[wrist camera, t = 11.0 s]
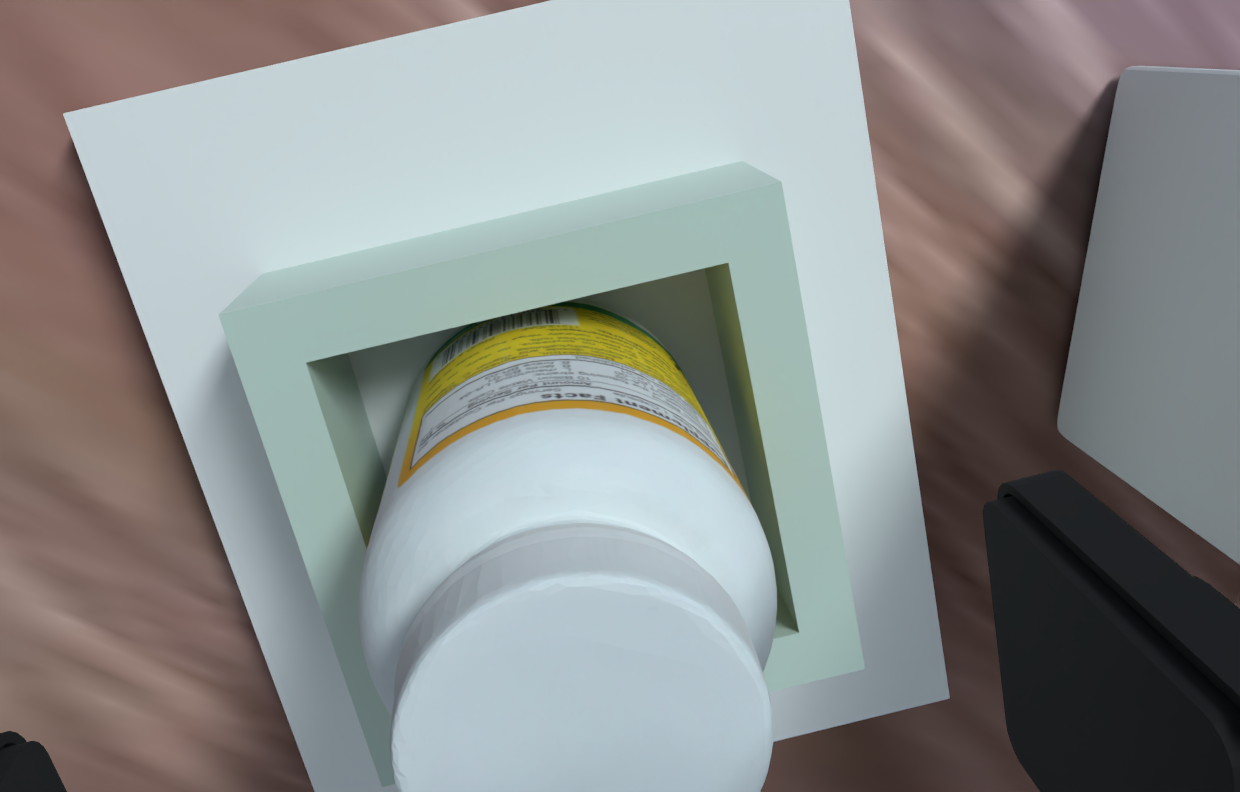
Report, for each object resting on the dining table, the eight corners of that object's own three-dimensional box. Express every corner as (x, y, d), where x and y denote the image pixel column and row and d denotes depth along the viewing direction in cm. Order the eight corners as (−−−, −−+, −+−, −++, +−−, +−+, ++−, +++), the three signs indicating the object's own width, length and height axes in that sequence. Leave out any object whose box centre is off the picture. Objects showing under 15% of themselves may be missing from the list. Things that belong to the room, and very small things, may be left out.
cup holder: (85, 110, 19) (-21, 127, 15) (823, -62, 19) (899, -86, 16) (342, 816, 24) (310, 964, 20) (932, 672, 24) (1011, 791, 20)
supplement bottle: (488, 237, 19) (473, 411, 10) (748, 374, 21) (942, 639, 11) (353, 495, 20) (232, 856, 11) (607, 610, 22) (681, 1020, 13)
